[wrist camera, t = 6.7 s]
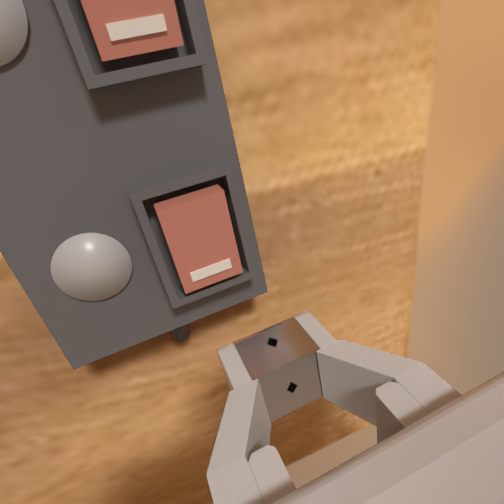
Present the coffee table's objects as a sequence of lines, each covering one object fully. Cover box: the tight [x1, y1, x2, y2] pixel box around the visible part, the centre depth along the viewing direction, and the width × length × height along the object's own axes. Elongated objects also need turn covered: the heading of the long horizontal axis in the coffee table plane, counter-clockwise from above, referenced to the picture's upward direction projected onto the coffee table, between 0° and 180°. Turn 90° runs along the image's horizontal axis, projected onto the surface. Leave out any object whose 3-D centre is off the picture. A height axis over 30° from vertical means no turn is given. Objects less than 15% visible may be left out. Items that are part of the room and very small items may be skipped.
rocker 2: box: [153, 184, 243, 294], centre depth 16 cm, size 4×3×1 cm
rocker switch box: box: [0, 0, 268, 369], centre depth 15 cm, size 22×11×4 cm, turn 13°
